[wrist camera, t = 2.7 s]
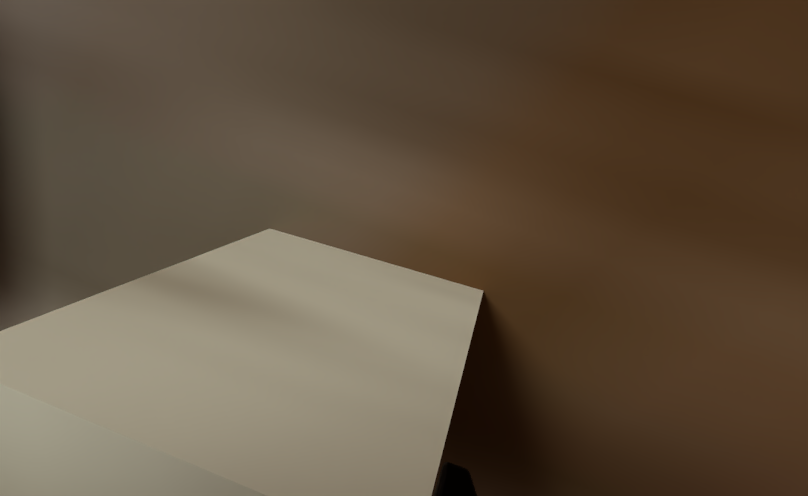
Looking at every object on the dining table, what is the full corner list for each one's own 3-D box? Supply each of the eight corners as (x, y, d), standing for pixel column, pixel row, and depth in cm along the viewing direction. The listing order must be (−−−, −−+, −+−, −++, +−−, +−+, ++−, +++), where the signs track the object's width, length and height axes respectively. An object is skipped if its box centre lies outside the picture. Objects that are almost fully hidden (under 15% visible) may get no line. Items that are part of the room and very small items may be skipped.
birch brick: (409, 548, 9) (291, 978, 5) (241, 478, 10) (-9, 785, 5) (484, 289, 7) (415, 557, 3) (272, 227, 8) (-66, 355, 3)
